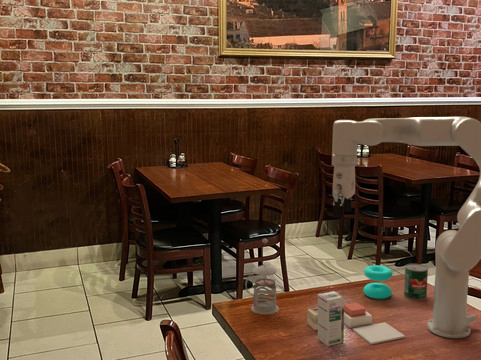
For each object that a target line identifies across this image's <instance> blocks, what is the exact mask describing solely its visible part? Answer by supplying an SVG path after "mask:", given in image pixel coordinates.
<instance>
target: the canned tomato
mask: <svg viewBox="0 0 481 360" xmlns="http://www.w3.org/2000/svg"><path fill="white" fill-rule="evenodd" d="M428 272H429V268H428V266H427V265H424V264H419V263H408V264H405V266H404V282H403V283H404V285H403V286H404V288H403V289H404V290H403V297H405V298H406V299H409V300H413V301H414V300H415V301H422V300H426V299H427V293H428V276H429V275H428Z"/></svg>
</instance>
